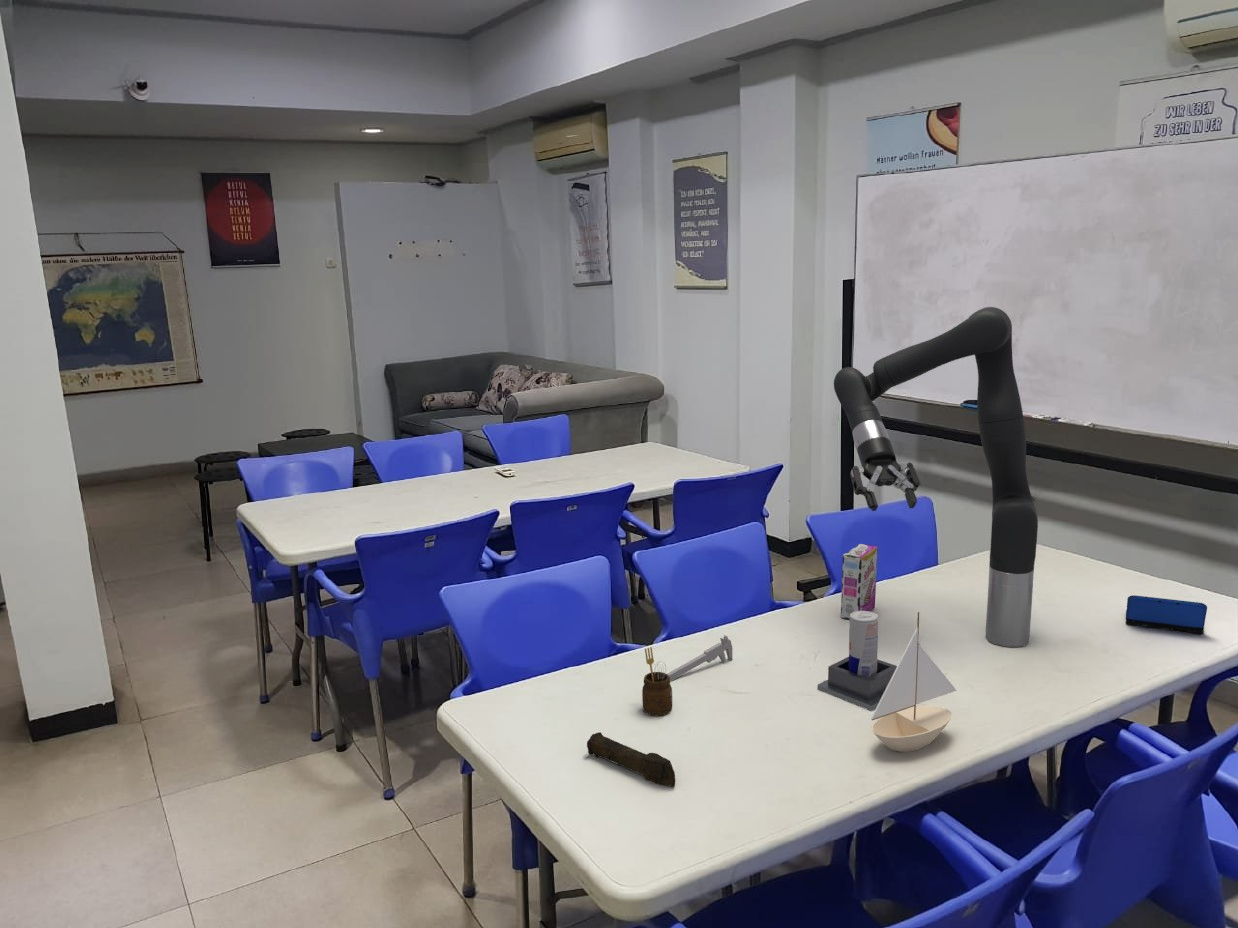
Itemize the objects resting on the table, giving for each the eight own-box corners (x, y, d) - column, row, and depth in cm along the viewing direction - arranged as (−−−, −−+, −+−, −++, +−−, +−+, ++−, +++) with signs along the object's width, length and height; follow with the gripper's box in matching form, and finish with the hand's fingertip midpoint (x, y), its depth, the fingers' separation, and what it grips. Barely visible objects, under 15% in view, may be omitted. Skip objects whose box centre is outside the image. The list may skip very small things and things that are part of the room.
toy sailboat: (894, 633, 155) (857, 616, 162) (889, 769, 160) (854, 746, 168) (981, 608, 164) (943, 593, 172) (974, 737, 169) (937, 717, 177)
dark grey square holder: (855, 669, 198) (855, 648, 197) (909, 689, 189) (909, 666, 188) (817, 689, 190) (817, 666, 189) (871, 710, 180) (872, 686, 179)
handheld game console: (1201, 622, 218) (1205, 585, 216) (1204, 643, 206) (1208, 604, 204) (1125, 612, 225) (1128, 576, 223) (1124, 632, 214) (1127, 594, 212)
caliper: (729, 659, 206) (729, 633, 205) (732, 661, 205) (732, 634, 204) (655, 685, 195) (654, 657, 194) (658, 686, 194) (658, 658, 193)
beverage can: (877, 679, 191) (879, 611, 188) (875, 691, 186) (877, 621, 183) (850, 676, 193) (851, 608, 190) (847, 688, 188) (848, 618, 185)
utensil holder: (652, 719, 180) (650, 662, 177) (636, 706, 185) (634, 650, 183) (678, 712, 182) (677, 655, 180) (662, 699, 188) (660, 644, 185)
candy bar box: (859, 622, 224) (861, 557, 220) (840, 618, 227) (841, 554, 223) (876, 608, 232) (878, 545, 229) (857, 604, 235) (859, 542, 232)
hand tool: (585, 756, 168) (584, 733, 167) (601, 748, 170) (600, 725, 169) (663, 796, 155) (663, 771, 154) (679, 786, 157) (679, 761, 156)
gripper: (847, 437, 203) (867, 501, 194) (909, 433, 205) (931, 496, 196) (838, 456, 209) (857, 518, 200) (897, 452, 211) (919, 514, 202)
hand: (894, 507), depth 198 cm, fingers open, 8 cm apart
